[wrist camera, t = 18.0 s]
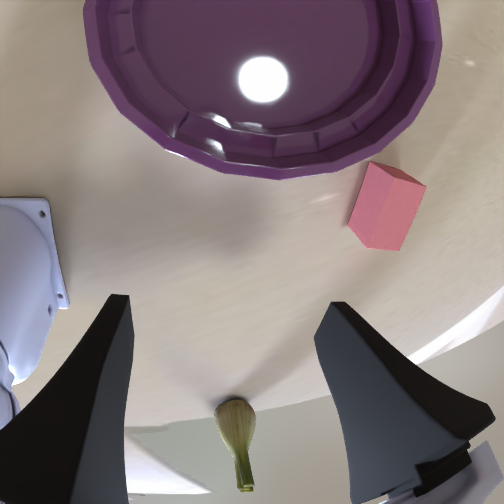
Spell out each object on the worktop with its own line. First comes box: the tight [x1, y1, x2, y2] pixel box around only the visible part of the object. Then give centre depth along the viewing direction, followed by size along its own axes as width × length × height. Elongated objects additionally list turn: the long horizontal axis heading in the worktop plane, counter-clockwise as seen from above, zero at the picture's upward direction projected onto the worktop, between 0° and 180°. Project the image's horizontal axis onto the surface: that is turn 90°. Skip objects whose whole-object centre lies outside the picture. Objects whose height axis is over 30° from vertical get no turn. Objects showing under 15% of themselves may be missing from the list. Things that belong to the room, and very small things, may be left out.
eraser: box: [348, 161, 426, 251], centre depth 18 cm, size 5×3×3 cm, turn 169°
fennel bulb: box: [214, 399, 256, 492], centre depth 28 cm, size 6×5×12 cm
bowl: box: [83, 0, 442, 180], centre depth 10 cm, size 17×17×4 cm
